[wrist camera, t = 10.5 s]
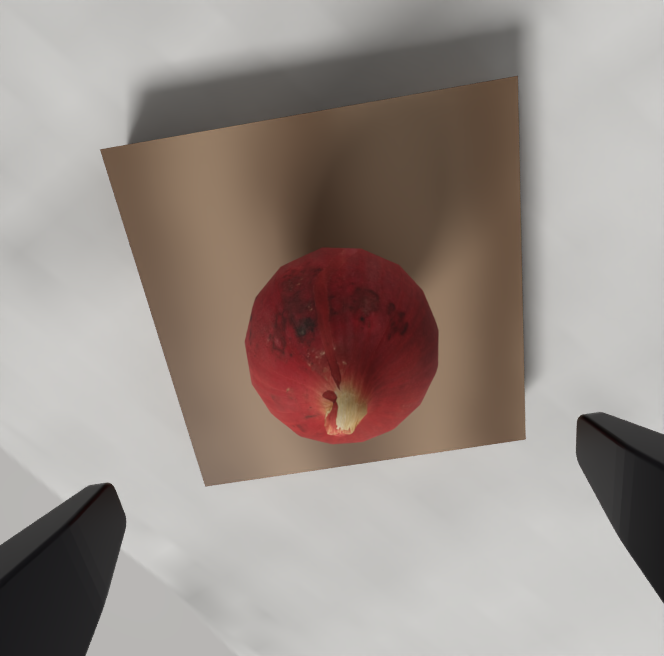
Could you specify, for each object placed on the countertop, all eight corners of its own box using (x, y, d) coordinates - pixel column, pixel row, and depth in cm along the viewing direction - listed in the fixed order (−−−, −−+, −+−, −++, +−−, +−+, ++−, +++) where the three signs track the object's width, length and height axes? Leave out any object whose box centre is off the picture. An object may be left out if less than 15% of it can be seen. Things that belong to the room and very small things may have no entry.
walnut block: (487, 87, 18) (518, 75, 15) (500, 404, 23) (525, 439, 20) (133, 150, 19) (100, 149, 16) (219, 446, 24) (205, 486, 21)
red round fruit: (236, 273, 18) (161, 354, 10) (378, 204, 17) (414, 234, 9) (307, 400, 19) (288, 552, 12) (439, 343, 18) (512, 467, 11)
